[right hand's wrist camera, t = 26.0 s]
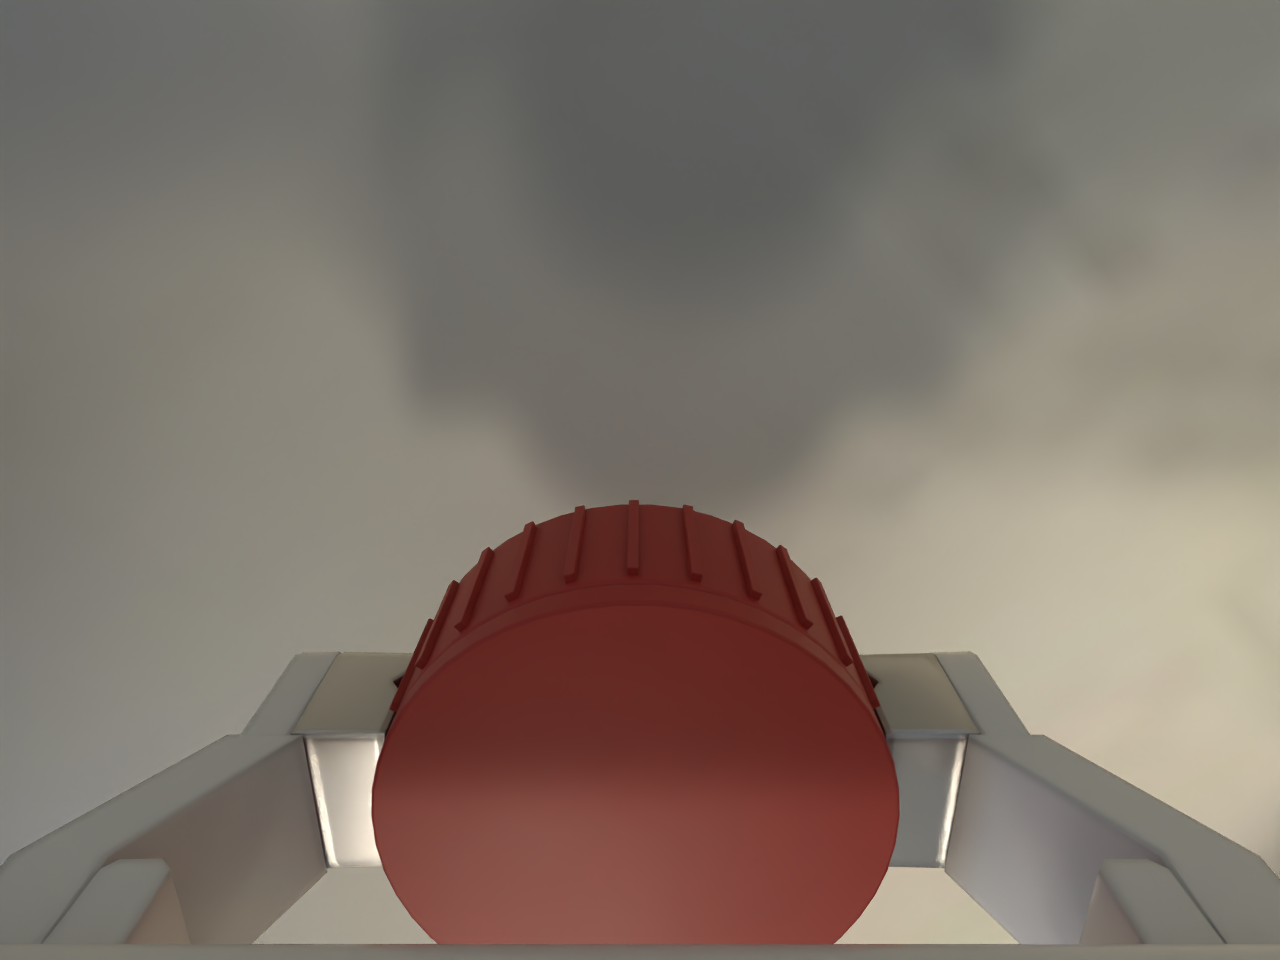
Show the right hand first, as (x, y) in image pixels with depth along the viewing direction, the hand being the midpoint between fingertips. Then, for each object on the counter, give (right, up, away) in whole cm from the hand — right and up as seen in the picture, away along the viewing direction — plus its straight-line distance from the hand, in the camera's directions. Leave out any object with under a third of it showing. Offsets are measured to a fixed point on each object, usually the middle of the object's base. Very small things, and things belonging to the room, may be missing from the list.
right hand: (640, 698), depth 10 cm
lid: (0, -1, -2) cm, 2 cm away
